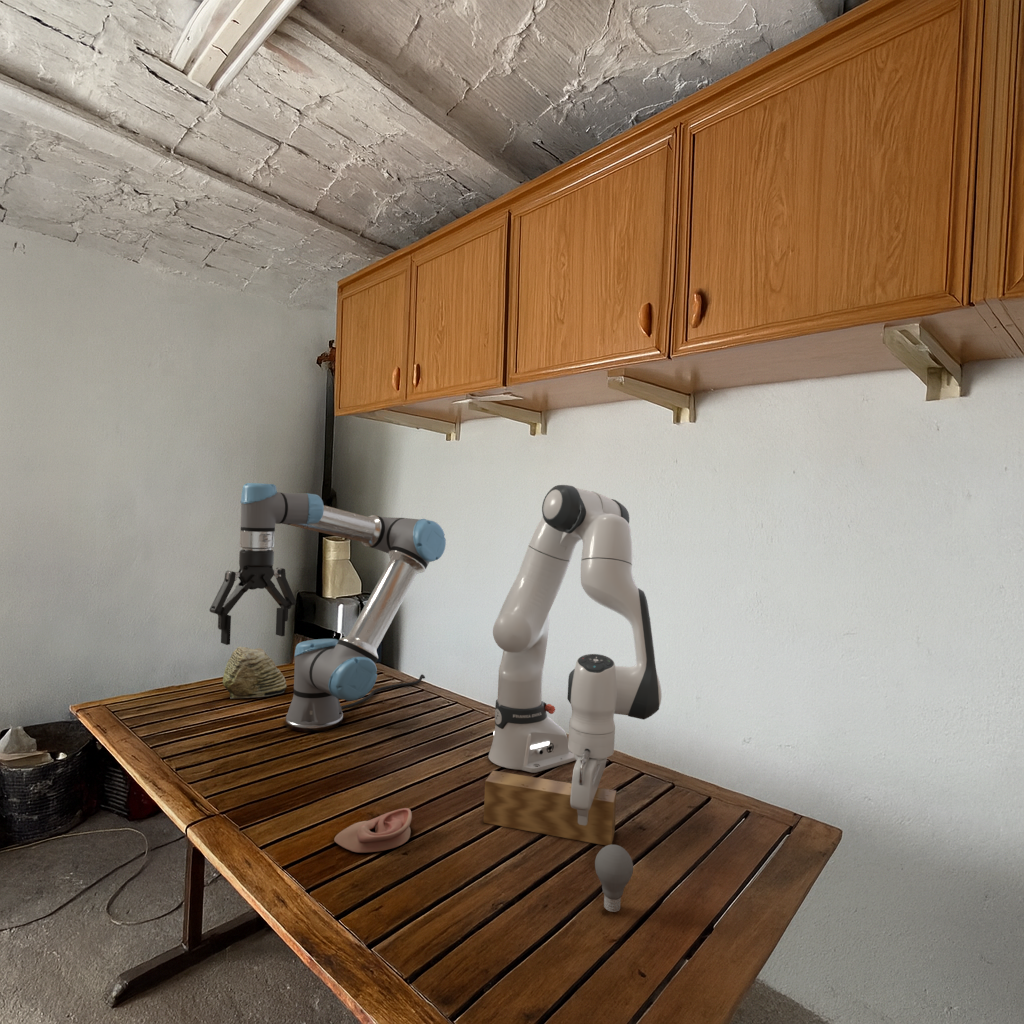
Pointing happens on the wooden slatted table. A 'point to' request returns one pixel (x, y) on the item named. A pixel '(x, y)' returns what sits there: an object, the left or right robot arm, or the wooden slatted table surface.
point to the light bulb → (613, 874)
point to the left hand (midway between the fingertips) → (253, 639)
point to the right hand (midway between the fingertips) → (587, 811)
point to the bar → (547, 808)
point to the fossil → (252, 674)
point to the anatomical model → (377, 832)
